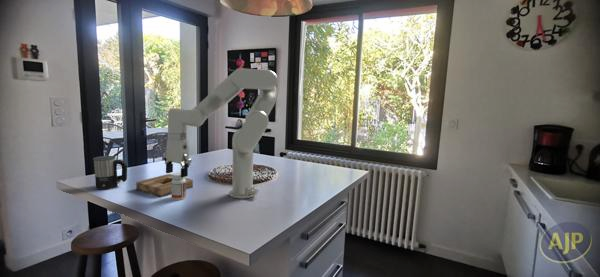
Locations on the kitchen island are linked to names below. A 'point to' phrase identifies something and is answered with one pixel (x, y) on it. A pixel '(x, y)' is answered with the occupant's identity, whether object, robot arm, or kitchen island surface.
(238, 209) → the kitchen island surface
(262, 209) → the kitchen island surface
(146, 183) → the socket block
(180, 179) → the pill bottle
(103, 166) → the milk frother
